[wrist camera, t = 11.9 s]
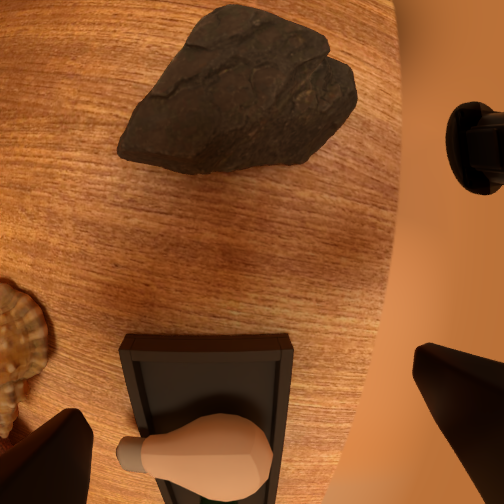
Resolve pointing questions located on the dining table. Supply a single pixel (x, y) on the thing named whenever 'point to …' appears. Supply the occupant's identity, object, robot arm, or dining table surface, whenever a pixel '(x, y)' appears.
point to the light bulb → (204, 456)
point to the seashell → (19, 350)
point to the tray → (210, 390)
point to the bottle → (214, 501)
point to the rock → (241, 97)
